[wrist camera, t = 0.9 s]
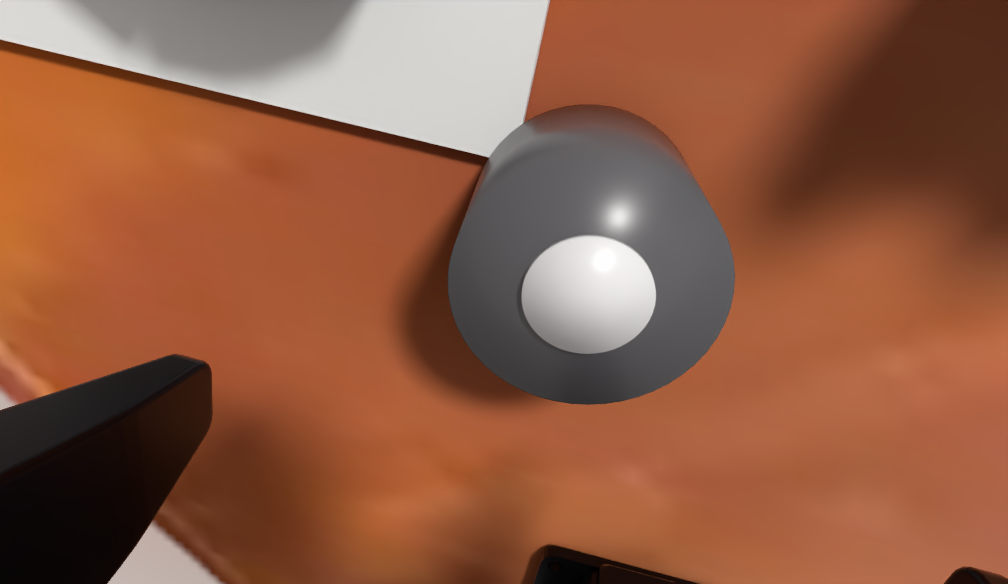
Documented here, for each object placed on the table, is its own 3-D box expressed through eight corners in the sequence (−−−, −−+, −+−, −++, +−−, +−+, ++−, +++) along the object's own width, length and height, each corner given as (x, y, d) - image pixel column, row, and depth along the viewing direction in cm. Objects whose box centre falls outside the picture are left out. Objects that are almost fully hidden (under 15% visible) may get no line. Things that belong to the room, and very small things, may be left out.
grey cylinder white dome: (654, 328, 17) (679, 433, 13) (458, 286, 17) (428, 380, 13) (730, 132, 14) (787, 197, 11) (494, 81, 14) (471, 127, 10)
